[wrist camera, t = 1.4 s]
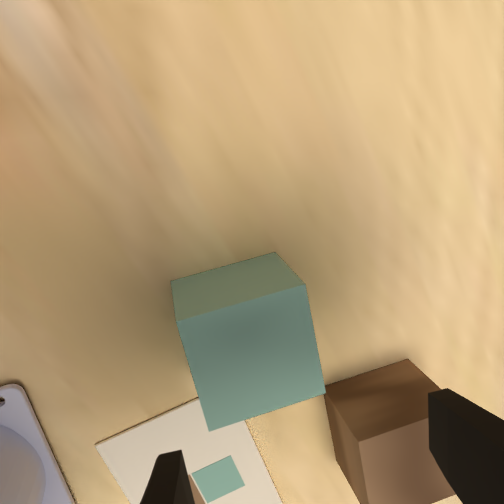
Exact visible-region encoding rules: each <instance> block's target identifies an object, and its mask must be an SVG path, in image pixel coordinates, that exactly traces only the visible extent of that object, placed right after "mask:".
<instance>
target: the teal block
mask: <svg viewBox="0 0 504 504" xmlns="http://www.w3.org/2000/svg"><path fill="white" fill-rule="evenodd" d="M171 288H172V296H173V303H174V311H175V319H176V324H177V327H178V331H179V334H180V337H181V341H182V344H183V347H184V350H185V354H186V357H187V360H188V364H189V367H190V370H191V374H192V377H193V380H194V384H195V387H196V390H197V394H198V397H199V400H200V404H201V407H202V410H203V414H204V417H205V420H206V424H207V427H208V430H209V432H210V431H213V430H216V429H219V428H222V427H225V426H228V425H231V424H234V423H237V422H240V421H243V420H246V419H249V418H252V417H255V416H258V415H261V414H264V413H267V412H270V411H273V410H276V409H280V408H283V407H286V406H289V405H292V404H295V403H298V402H301V401H304V400H307V399H310V398H313V397H316V396H319V395H322V394H325V393H326V390H325V385H324V380H323V375H322V369H321V364H320V359H319V354H318V348H317V343H316V338H315V333H314V327H313V322H312V317H311V312H310V306H309V301H308V296H307V291H306V285H305V283H304V282H303V281H302V280H301V279H300V278H299V277H298V276H297V275H296V274H295V273H294V272H293V271H292V270H291V268H290V267H289V266H288V265H287V264H286V263H285V262H284V261H283V260H282V259H281V258H280V257H279V256H278V255H277V254H276V253H275V252H273V253H270V254H266V255H263V256H259V257H255V258H252V259H248V260H245V261H241V262H238V263H234V264H230V265H227V266H223V267H220V268H216V269H212V270H209V271H205V272H202V273H198V274H194V275H191V276H187V277H184V278H180V279H176V280H173V281H171Z"/></svg>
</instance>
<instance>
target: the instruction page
mask: <svg viewBox="0 0 504 504" xmlns="http://www.w3.org/2000/svg"><path fill="white" fill-rule="evenodd" d="M95 448H96V449H97V451H98V452H99V454H100V456H101V457H102V459H103V460H104V462H105V464H106V465H107V467H108V468H109V470H110V472H111V473H112V475H113V476H114V478H115V480H116V481H117V483H118V484H119V486H120V488H121V489H122V491H123V493H124V494H125V496H126V497H127V499H128V501H129V502H130V504H140V502H141V499H142V497H143V494H144V492H145V489H146V487H147V484H148V482H149V479H150V476H151V473H152V470H153V467H154V464H155V461H156V458H157V457H158V456H159V454H163V453H168V452H172V451H177V450H181V449H182V453H183V457H184V461H185V465H186V469H187V473H188V477H189V481H190V485H191V489H192V493H193V497H194V501H195V504H283V503H282V501H281V498H280V496H279V494H278V492H277V490H276V488H275V485H274V483H273V481H272V479H271V477H270V475H269V472H268V470H267V468H266V466H265V464H264V461H263V459H262V457H261V455H260V453H259V451H258V448H257V446H256V444H255V442H254V440H253V438H252V435H251V433H250V431H249V429H248V427H247V424H246V422H245V420H243V421H240V422H237V423H234V424H231V425H228V426H225V427H222V428H219V429H216V430H213V431H210V432H209V430H208V427H207V424H206V420H205V417H204V414H203V410H202V407H201V404H200V400H199V398H196V399H194V400H192V401H190V402H188V403H185V404H183V405H181V406H179V407H177V408H174V409H172V410H170V411H168V412H166V413H163V414H161V415H159V416H157V417H154V418H152V419H150V420H148V421H146V422H143V423H141V424H139V425H137V426H135V427H132V428H130V429H128V430H126V431H124V432H121V433H119V434H117V435H115V436H113V437H110V438H108V439H106V440H104V441H102V442H99V443H97V444H95Z"/></svg>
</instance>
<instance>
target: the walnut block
mask: <svg viewBox="0 0 504 504" xmlns="http://www.w3.org/2000/svg"><path fill="white" fill-rule="evenodd" d="M325 390H326V393H325V394H324V399H325V404H326V409H327V414H328V419H329V425H330V430H331V435H332V440H333V446H334V451H335V456H336V461H337V462H338V464H339V466H340V468H341V470H342V471H343V473H344V475H345V477H346V479H347V481H348V482H349V484H350V486H351V488H352V490H353V491H354V493H355V495H356V497H357V499H358V501H359V502H360V504H432V503H434V502H437V501H440V500H442V499H445V498H447V497H450V496H453V495H455V494H456V493H455V492H454V490H453V489H452V488H451V486H450V485H449V483H448V482H447V480H446V478H445V477H444V475H443V473H442V471H441V470H440V468H439V466H438V464H437V463H436V461H435V459H434V457H433V455H432V453H431V452H430V450H429V424H428V393H429V392H434V391H438V390H441V389H440V388H439V387H438V386H437V385H436V384H435V383H434V382H433V381H432V380H431V379H429V378H428V377H427V376H426V375H425V374H424V373H423V372H422V371H421V370H420V369H419V368H417V367H416V366H415V365H414V364H413V363H412V362H411V361H410V360H409V359H406V360H403V361H400V362H397V363H393V364H390V365H387V366H384V367H381V368H378V369H375V370H372V371H369V372H366V373H363V374H360V375H357V376H354V377H351V378H348V379H344V380H341V381H338V382H335V383H332V384H329V385H326V386H325Z"/></svg>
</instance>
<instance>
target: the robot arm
mask: <svg viewBox="0 0 504 504" xmlns="http://www.w3.org/2000/svg"><path fill="white" fill-rule="evenodd" d="M0 397H3V398H4V399H5V401H3V402H0V504H75V502H74V500H73V498H72V496H71V493H70V491H69V489H68V487H67V484H66V482H65V480H64V478H63V476H62V473H61V471H60V469H59V467H58V464H57V462H56V460H55V458H54V455H53V453H52V451H51V449H50V447H49V444H48V442H47V440H46V438H45V435H44V433H43V431H42V429H41V427H40V424H39V422H38V420H37V418H36V415H35V413H34V411H33V409H32V406H31V404H30V402H29V400H28V398H27V395H26V393H25V391H24V389H23V388H22V387H21V386H19V385H17V384H8V385H4V386H1V387H0ZM428 424H429V450H430V452H431V453H432V455H433V457H434V459H435V461H436V463H437V464H438V466H439V468H440V470H441V471H442V473H443V475H444V477H445V478H446V480H447V482H448V483H449V485H450V486H451V488H452V489H453V490H454V492H455V493H456V495H457V496H458V497H459V499H460V500H461V502H462V503H463V504H504V420H502V419H501V418H499V417H497V416H495V415H494V414H492V413H490V412H488V411H487V410H485V409H483V408H481V407H480V406H478V405H476V404H475V403H473V402H471V401H469V400H468V399H466V398H464V397H462V396H461V395H459V394H457V393H455V392H453V391H452V390H450V389H448V388H447V389H443V390H438V391H434V392H429V393H428ZM140 504H195V501H194V497H193V493H192V489H191V485H190V481H189V477H188V473H187V469H186V465H185V461H184V457H183V453H182V449H181V450H177V451H172V452H168V453H163V454H159V456H158V457H157V458H156V461H155V464H154V467H153V470H152V473H151V476H150V479H149V482H148V484H147V487H146V489H145V492H144V494H143V497H142V499H141V502H140Z"/></svg>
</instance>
